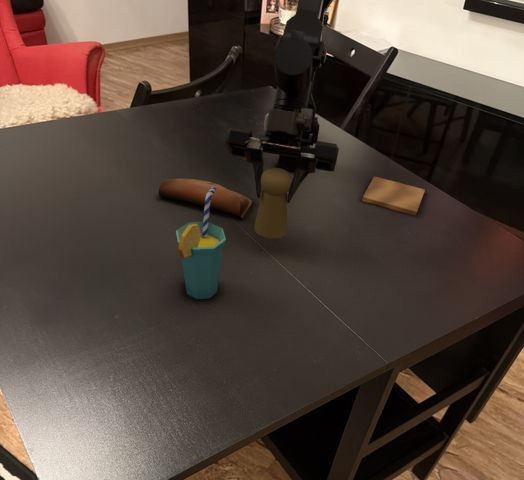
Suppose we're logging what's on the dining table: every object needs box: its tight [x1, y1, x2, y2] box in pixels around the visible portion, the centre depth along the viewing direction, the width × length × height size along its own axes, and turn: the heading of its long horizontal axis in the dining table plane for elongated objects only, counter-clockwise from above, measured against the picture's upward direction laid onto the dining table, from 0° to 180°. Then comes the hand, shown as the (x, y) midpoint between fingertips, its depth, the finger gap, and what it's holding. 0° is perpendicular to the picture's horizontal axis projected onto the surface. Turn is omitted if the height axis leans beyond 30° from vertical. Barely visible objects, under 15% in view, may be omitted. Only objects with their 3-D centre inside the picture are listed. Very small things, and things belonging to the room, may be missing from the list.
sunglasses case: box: [158, 178, 253, 219], centre depth 98 cm, size 18×7×7 cm
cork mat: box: [361, 176, 426, 217], centre depth 107 cm, size 12×11×1 cm
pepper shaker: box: [253, 167, 292, 239], centre depth 83 cm, size 6×6×11 cm
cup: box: [175, 187, 227, 300], centre depth 75 cm, size 14×8×15 cm, turn 170°
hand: (273, 199), depth 81 cm, fingers closed on pepper shaker, 5 cm apart
